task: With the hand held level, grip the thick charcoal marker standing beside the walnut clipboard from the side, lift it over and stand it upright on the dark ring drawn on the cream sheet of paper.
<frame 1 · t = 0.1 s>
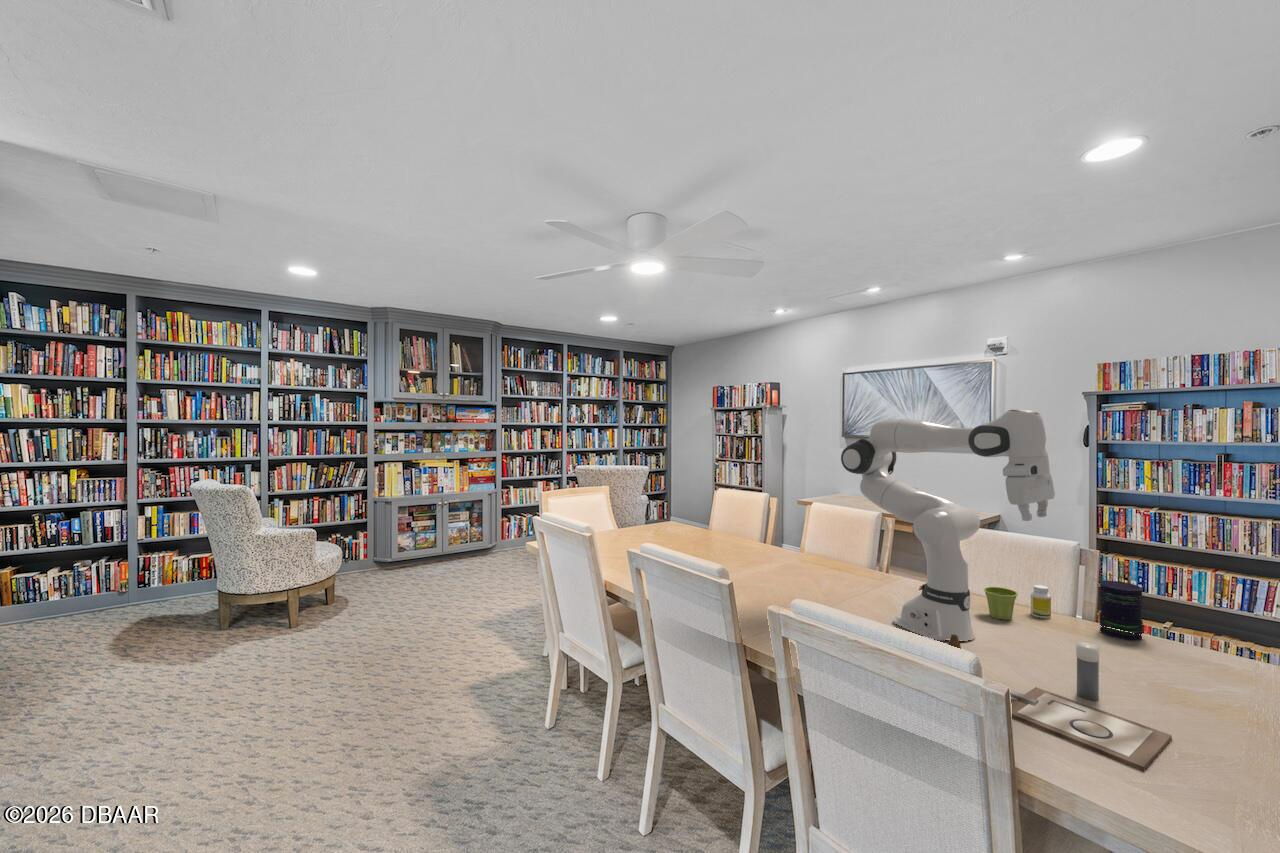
hand: (1034, 518, 145), 39 cm above the table, tool pointing down, fingers open, 8 cm apart
hand bell: (955, 704, 125), on the table
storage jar: (1120, 634, 163), on the table
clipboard: (1082, 725, 115), on the table
supplement bottle: (1040, 616, 179), on the table
marker: (1087, 696, 127), on the table
plant pot: (1000, 617, 178), on the table
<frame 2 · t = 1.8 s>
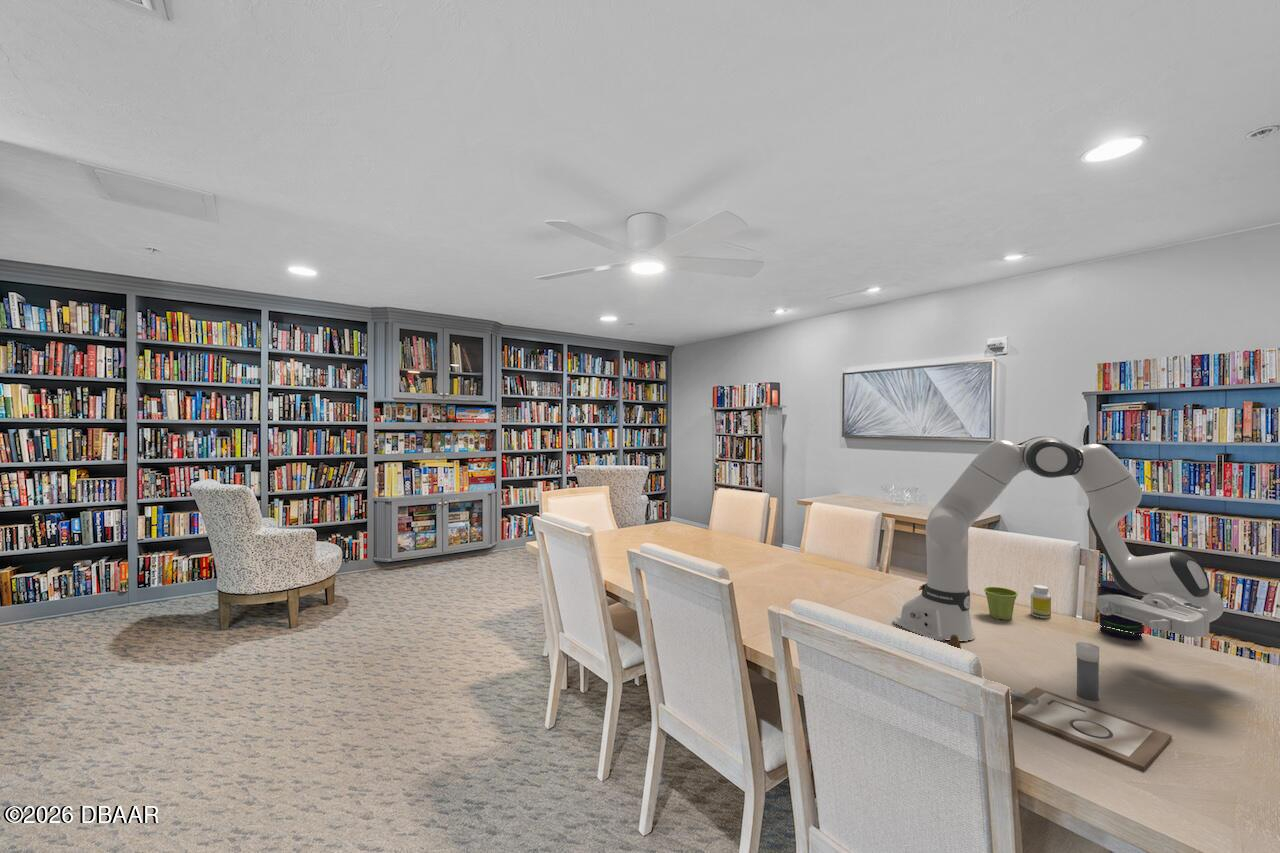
hand: (1124, 617, 130), 17 cm above the table, tool horizontal, fingers open, 8 cm apart
nothing on the table moved.
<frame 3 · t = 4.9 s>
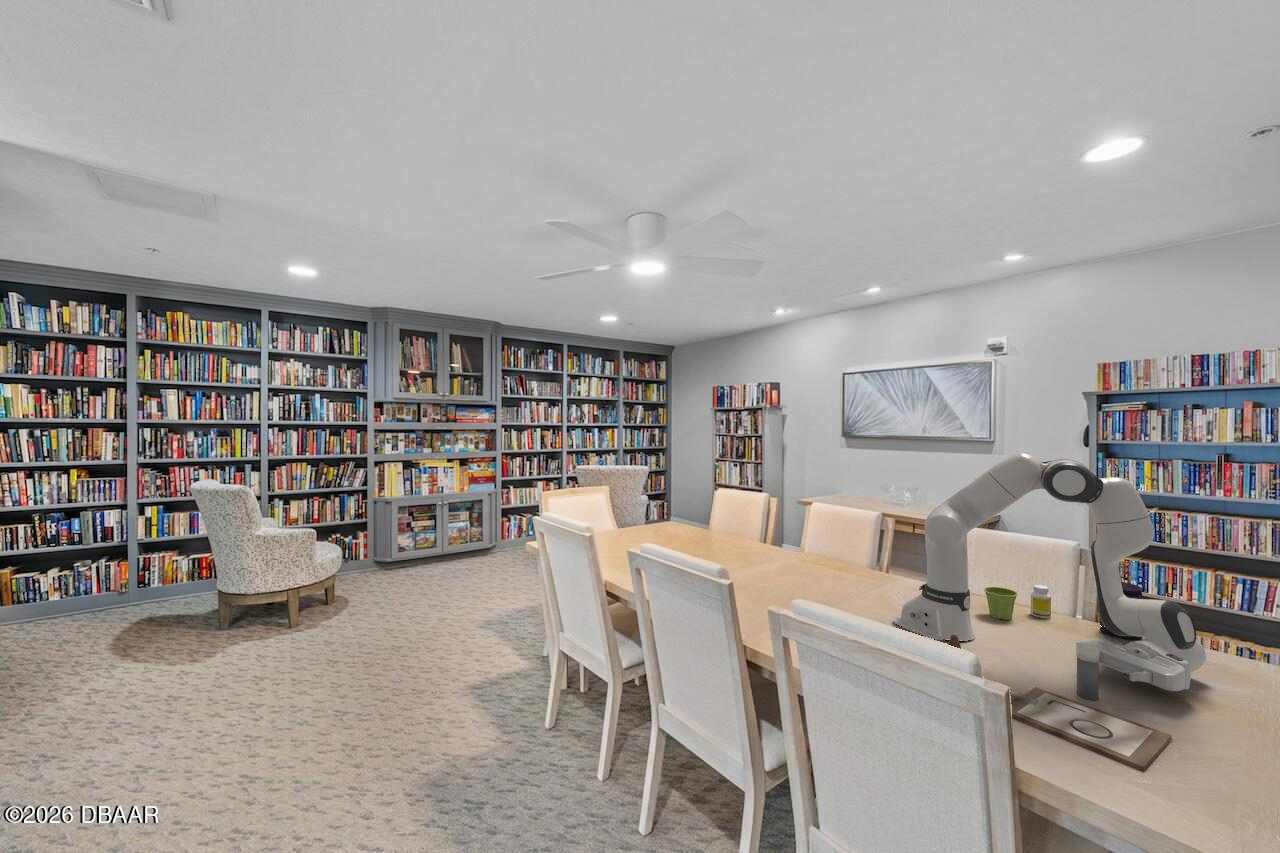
hand: (1106, 667, 129), 6 cm above the table, tool horizontal, fingers open, 8 cm apart
nothing on the table moved.
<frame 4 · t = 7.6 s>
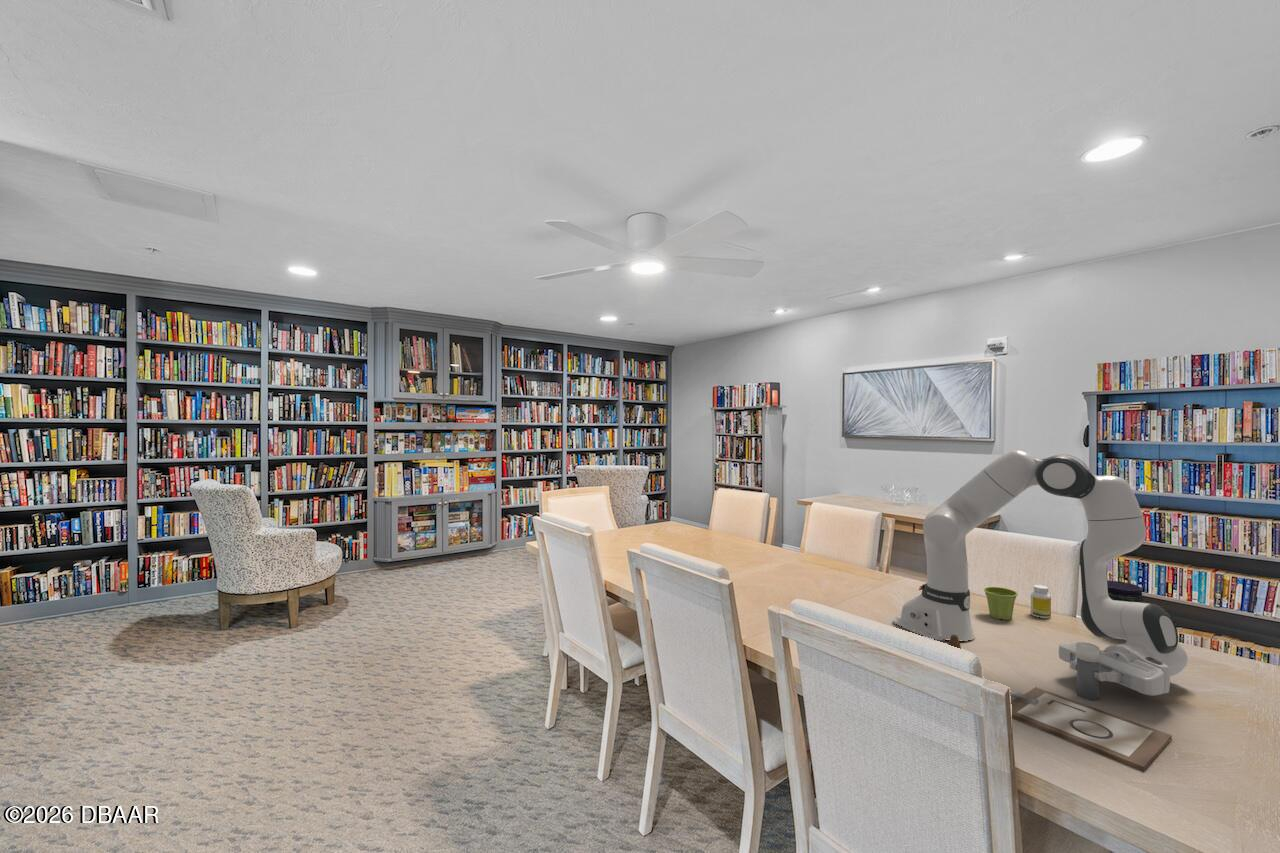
hand: (1084, 671, 127), 6 cm above the table, tool horizontal, fingers closed on marker, 4 cm apart
marker: (1087, 696, 127), on the table, touching gripper
everything else where it was.
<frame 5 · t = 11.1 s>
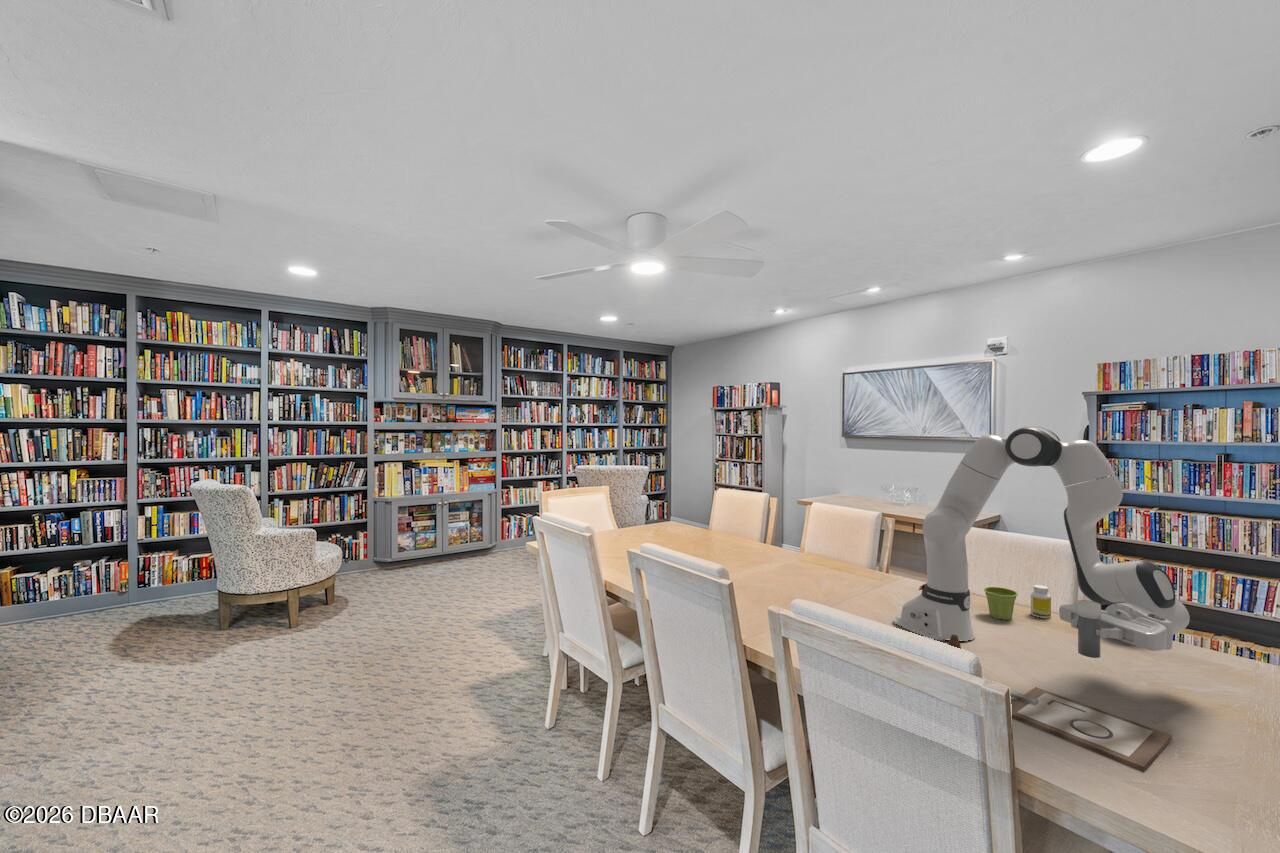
hand: (1086, 628, 125), 17 cm above the table, tool horizontal, fingers closed on marker, 4 cm apart
marker: (1089, 654, 125), point 11 cm above the table, touching gripper
everything else where it was.
when the fingers open (8 cm above the table, at t = 14.7 s): marker drops 1 cm, resting on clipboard.
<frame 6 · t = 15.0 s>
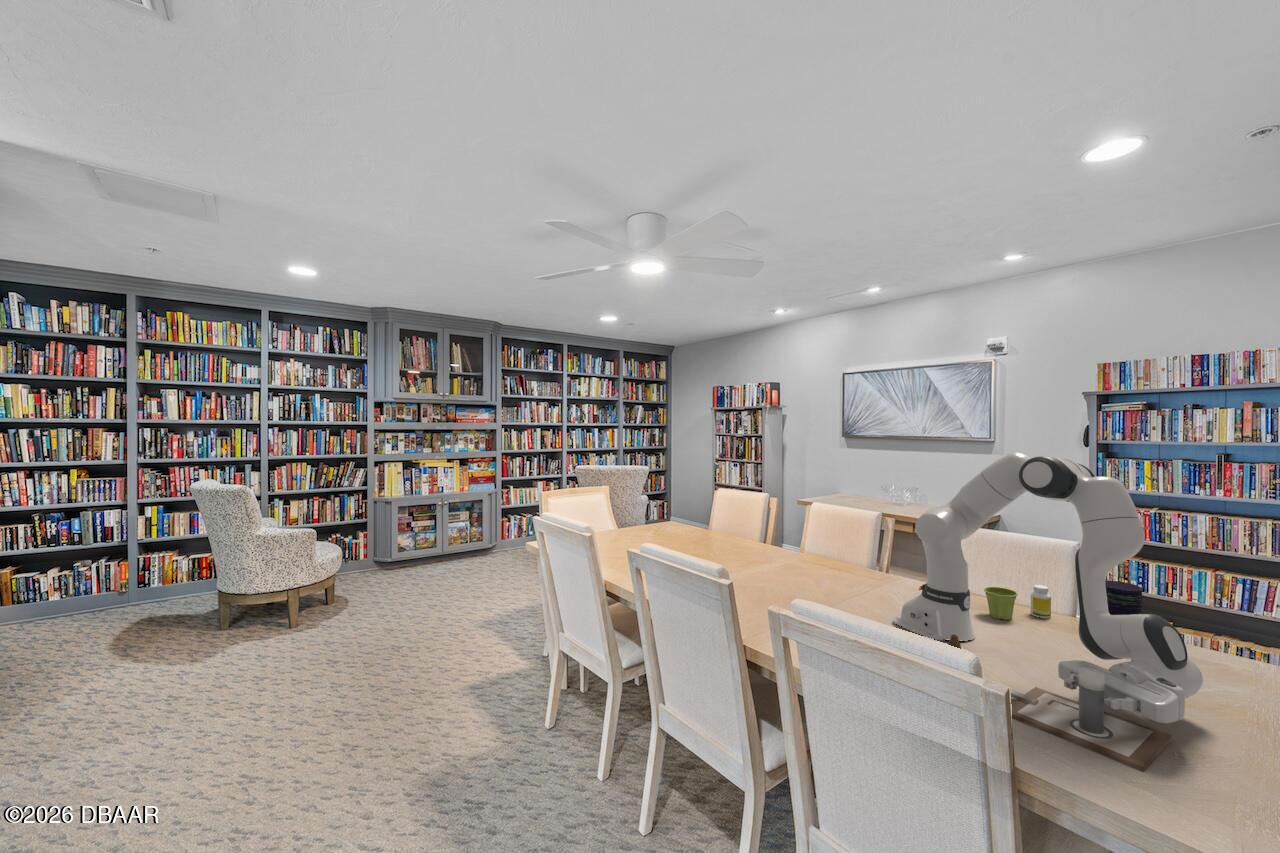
hand: (1087, 693, 112), 8 cm above the table, tool horizontal, fingers open, 7 cm apart
marker: (1091, 728, 112), point 1 cm above the table, touching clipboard
everything else where it was.
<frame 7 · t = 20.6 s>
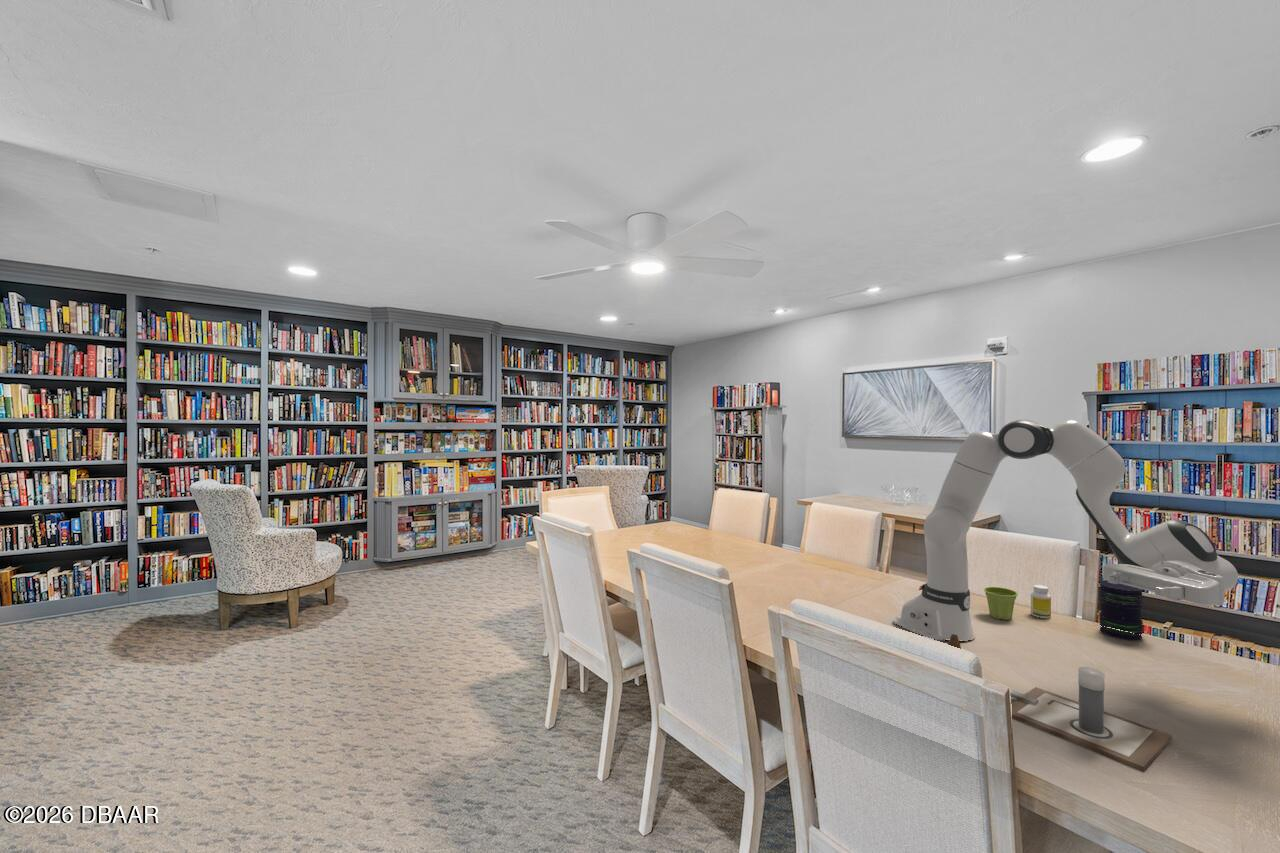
hand: (1133, 585, 122), 28 cm above the table, tool horizontal, fingers open, 8 cm apart
nothing on the table moved.
at the end: marker 0.0 cm from the target spot on the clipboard, point 1.0 cm above the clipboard's base; marker tilted 1°; the gripper is holding nothing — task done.
